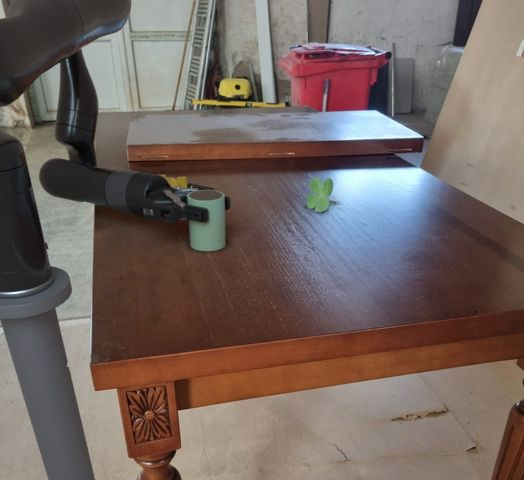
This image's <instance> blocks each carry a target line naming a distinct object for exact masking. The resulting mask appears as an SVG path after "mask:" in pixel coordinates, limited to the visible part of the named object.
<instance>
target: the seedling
mask: <svg viewBox="0 0 524 480" xmlns="http://www.w3.org/2000/svg"><path fill="white" fill-rule="evenodd" d="M308 188H309V190H310V192H312V193H310V194H308V195H307V196H306V200H305V203H306V206H307V208H308V209H310V210H311V209H314V212H316V213H322V212H324V211H326V210H327V209H328V208H329V206H330V203H335V204H336V203H337V202H336V201H335V200H330V198H329V197H330V196H331V195H332V194H333V190H334V181H333V179H332V178H330V177H327V178H325V180H324V181H322V180H321V178H320V177H318V176H316V177H313V178H312V179H311V180H310V181H309V185H308Z"/></svg>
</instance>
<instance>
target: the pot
mask: <svg viewBox="0 0 524 480" xmlns="http://www.w3.org/2000/svg"><path fill="white" fill-rule="evenodd" d="M225 196H226V195H225V193H224V192H222V191H220V190H216V189H215V190H198V191H193V192H190V193H188V194H187V205H194V206H199V207H204V208H207V209H208V215H209V220H208V221H207V222H205V223H204V222H199V221H194V220H189V219H187V221H188V235H189V246H190V248H191V249H193V250H196V251H200V252H215V251H219V250H222V249H223V248H225V247H226V246H227V232H226V231H227V229H226V228H227V227H226V226H227V225H226V223H227V222H226V210H225Z"/></svg>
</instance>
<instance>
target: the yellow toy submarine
mask: <svg viewBox="0 0 524 480" xmlns="http://www.w3.org/2000/svg"><path fill="white" fill-rule="evenodd" d="M160 175H161V176H163V177H164V178H165V179H166V180H167V181H168V183H169V184H170V186H171V187H173V186H181V187H182V188H187V184H188V180H187V179H188V178H187V176H176V177H172V176H170V177H169V176H167V177H166V174H160Z"/></svg>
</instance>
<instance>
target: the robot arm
mask: <svg viewBox="0 0 524 480" xmlns="http://www.w3.org/2000/svg"><path fill="white" fill-rule="evenodd" d="M131 10H132V0H11V1H10V3H9V4H8V7H7V10H6V14H5V15H6V16H5V17H3V18H2V17H1V18H0V109H1V108H5V107H8V106H10V105H11V104H13V103H14V102H16V101H17V100H18V99H19V98H20V97H21V96H22V95H23V94H25V92H26V91H27V90H28V89H29V88H30V87H31V86H32V84H34V83H35V81H36V80H37V79H38V78H39V77H40V76H42V75H43V74H44V73H47V72H48V71H49V70H51V69H53V68H54V67H55V66H57V65H58V64H59V90H58V101H57V109H56V116H55V125H54V139H55V140H56V142H57V143H58V144H60V145H62V147H64V148H65V149H66V150H67V155H68V159H66V158H61V157H53V158H50V159H48V160H46V161H45V162H44V163H43V164H42V165H41V166H40V169H39V172H38V181H39V184H40V186H41V188H42V189H43V191H45V193H47V194H48V195H50V196H52V197H54V198H56V199H57V198H58V199H63V200H66V201H73V202H77V203H89V204H92V205H95V206H98V207H100V208H105V209H110V210H114V211H118V212H120V213H123V214H126V215H131V216H136V217H140V218H144V219H145V220H152V221H157V222H164V223H169V224H177V223H178V220H180V221H188V219H189V220H194V221H199V222H204V223H205V222H207V221H208V220H209V215H208V209H207V208H204V207H199V206H194V205H187V194H188V193H190V192H193V191H198V190H215V191H216V189H215V187H209V186H206V185H201V184H197V183H192V182H188V183H187V188H182V187H181V186H173V187H171V186H170V184H169V183H168V181H167V180H166V179H165V178H164V177H163V176H161V175H162V174H155V173H150V172H143V171H138V170H132V169H117V168H112V167H111V168H110V167H105V166H98V162H97V154H96V152H97V151H96V145H95V139H96V132H97V126H98V118H99V110H100V109H99V108H100V107H99V98H98V97H99V96H98V93H97V90H96V87H95V84H94V81H93V78H92V77H91V74H90V70H89V68H88V66H87V63H86V59H85V56H84V53H83V48H85V47H86V46H88V45H90V44H91V43H94V42H95V41H97V40H98V39H100V38H103V37H106V36H110V35H113V34H116V33H118V32H120V31H121V30H122V29H123V28H124V27H125V25H126V24H127V22H128V20H129V17H130V14H131ZM30 174H31V173H30V170H29V165H28V162H27V156H26V152H25V148H24V145H23V143H22V142H21V140H20V139H19V138H18V137H17V136H14V135H12V134H10V133H8V132H6V131H4V130H1V129H0V298H3V299H14V298H22V297H27V296H31V295H35V294H38V293H40V292H42V291H44V290H46V289H48V288H49V287H50V286H51V285H52V284H53V282H54V277H53V273H52V270H51V266H52V265H51V263H50V258H49V254H48V250H49V245H48V242H46V240H45V236H44V232H43V227H42V223H41V218H40V214H39V210H38V205H37V201H36V197H35V191H34V188H33V183H32V179H31V175H30ZM231 206H232V204H231V197H229V196H227V195H225V211H229V210H231Z"/></svg>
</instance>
